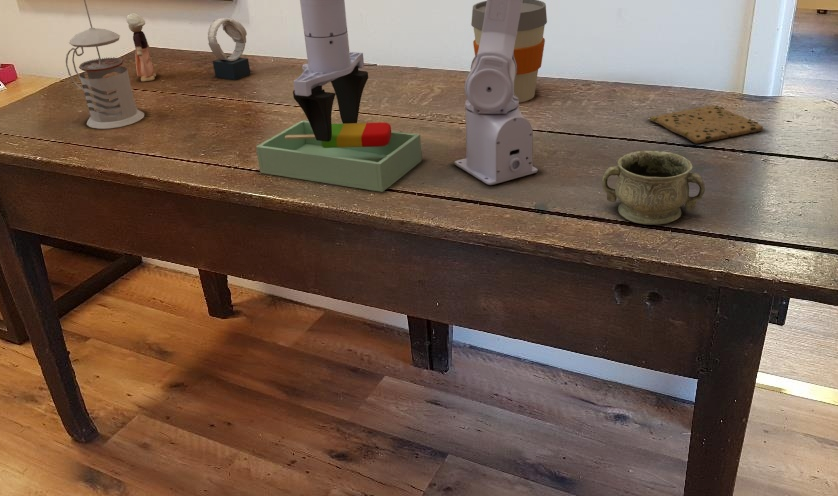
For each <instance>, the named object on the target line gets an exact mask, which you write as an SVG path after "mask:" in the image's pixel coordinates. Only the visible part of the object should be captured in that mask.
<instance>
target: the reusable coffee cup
mask: <svg viewBox="0 0 838 496" xmlns="http://www.w3.org/2000/svg"><path fill="white" fill-rule="evenodd" d="M486 3H487V0H484V1H479V2H477V3H475V4H473V5H472V10H471V11H472V12H471V23H470V25H471V26H472V28H473V33H474V40H473V42H472V45H473V51H474V57H475V56H476V54H477V53H478V49H479V44H480V39H481V34H482V28H483V22H484V16H485V9H486ZM547 23H548V16H547V5H546V3H545V1H542V0H523V2H522V8H521V13H520V19H519V24H518V29H517V35H516V40H515V46H514V58H515V61H516V65H517V74H516V77H515V80H514V94H515V95H516V97H518V99H519V103H523V102H527V101H530V100H532V99H533V98H534V97H535V95H536V87H537V81H538V74H539V70H540V69H541V67H542V63H543V57H544V50H545V43H546V39H545V37H544V33H545V25H547Z"/></svg>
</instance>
